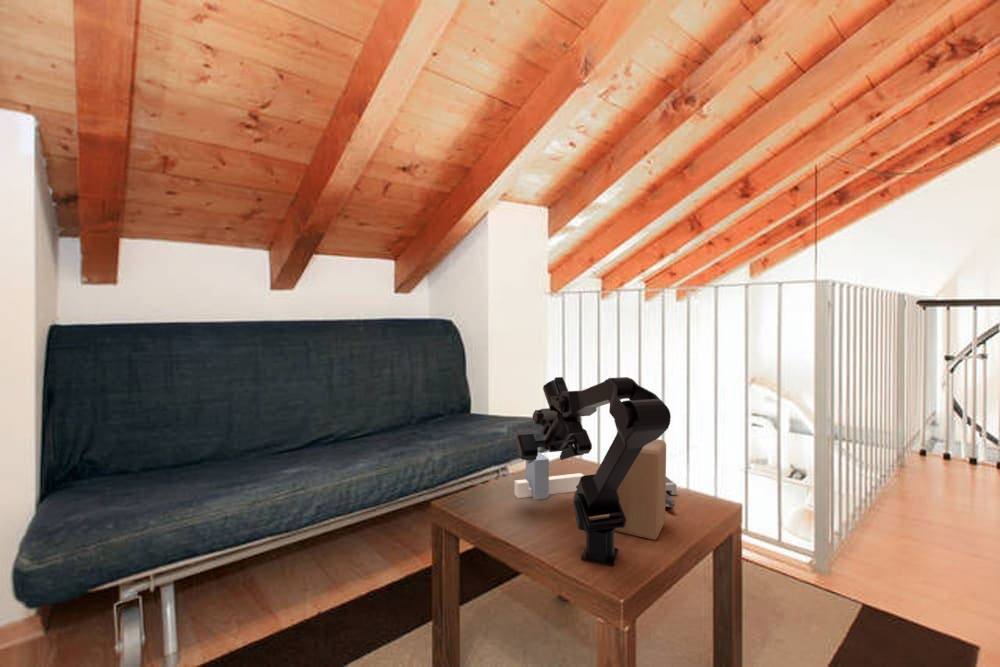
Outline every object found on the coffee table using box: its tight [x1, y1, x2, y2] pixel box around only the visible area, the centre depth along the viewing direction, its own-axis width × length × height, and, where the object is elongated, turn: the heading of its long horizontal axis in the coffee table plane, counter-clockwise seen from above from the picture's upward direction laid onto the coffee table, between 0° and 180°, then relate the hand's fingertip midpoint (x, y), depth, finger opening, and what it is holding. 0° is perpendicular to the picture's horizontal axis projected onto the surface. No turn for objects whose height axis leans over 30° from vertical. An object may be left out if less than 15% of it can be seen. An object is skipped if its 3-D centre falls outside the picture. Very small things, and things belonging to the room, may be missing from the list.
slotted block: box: [525, 451, 550, 501], centre depth 125 cm, size 7×4×10 cm, turn 18°
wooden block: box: [615, 438, 667, 540], centre depth 105 cm, size 10×10×20 cm
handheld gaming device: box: [666, 476, 677, 496], centre depth 131 cm, size 9×15×4 cm, turn 5°
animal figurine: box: [665, 492, 676, 509], centre depth 118 cm, size 12×4×5 cm, turn 4°
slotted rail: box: [514, 472, 586, 499], centre depth 127 cm, size 2×20×4 cm, turn 107°
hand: (544, 460), depth 120 cm, fingers open, 9 cm apart
